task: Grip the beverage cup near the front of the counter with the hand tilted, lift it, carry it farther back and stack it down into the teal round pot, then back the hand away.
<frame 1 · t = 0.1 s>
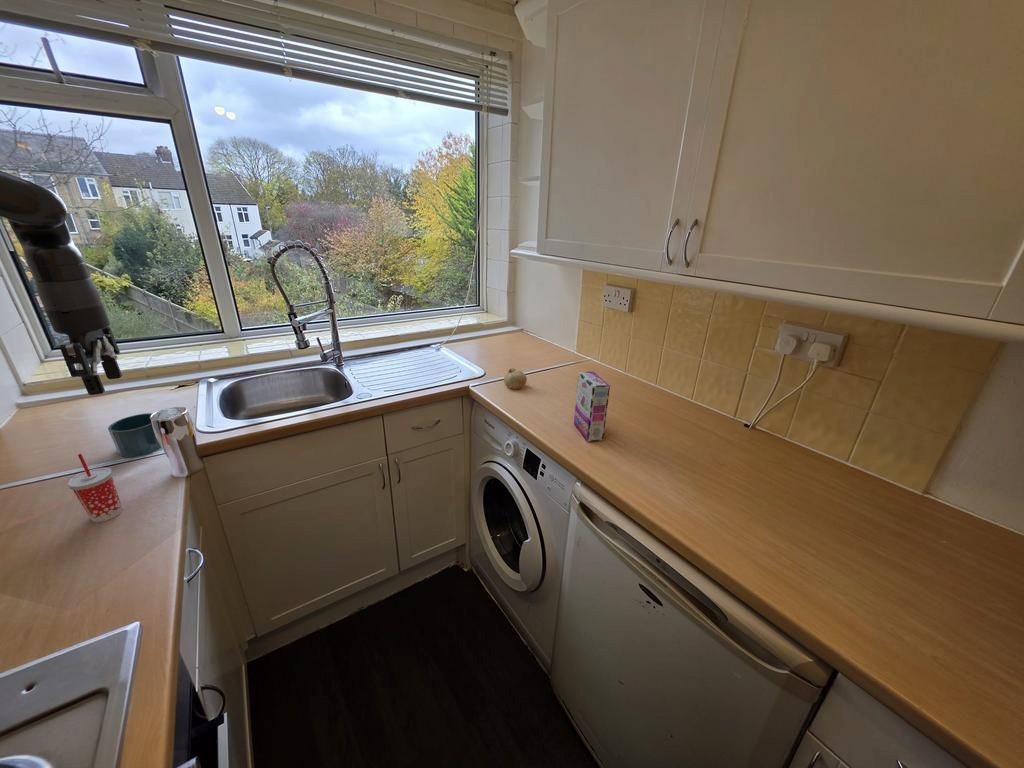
hand: (106, 385, 80), 24 cm above the worktop, tool pointing down, fingers open, 8 cm apart
teal round pot: (146, 451, 102), on the worktop
beverage cup: (107, 515, 81), on the worktop
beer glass: (188, 470, 95), on the worktop
candy bar box: (588, 432, 115), on the worktop
onion: (515, 387, 144), on the worktop
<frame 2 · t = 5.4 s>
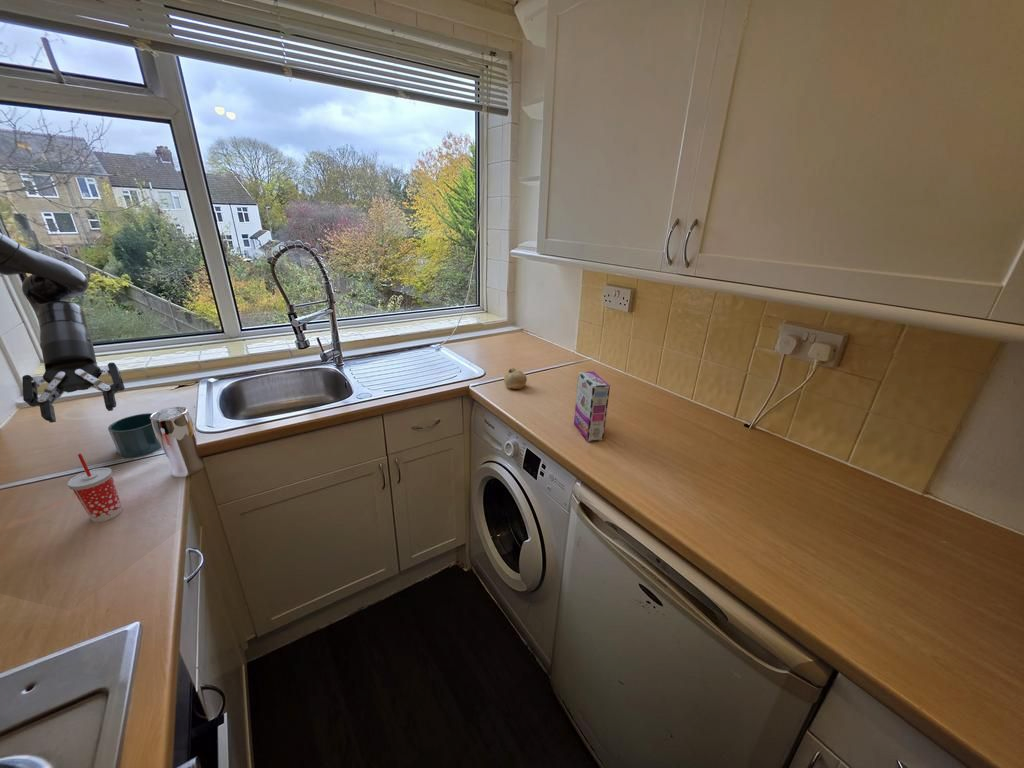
hand: (81, 415, 83), 18 cm above the worktop, tool tilted 45°, fingers open, 8 cm apart
nothing on the worktop moved.
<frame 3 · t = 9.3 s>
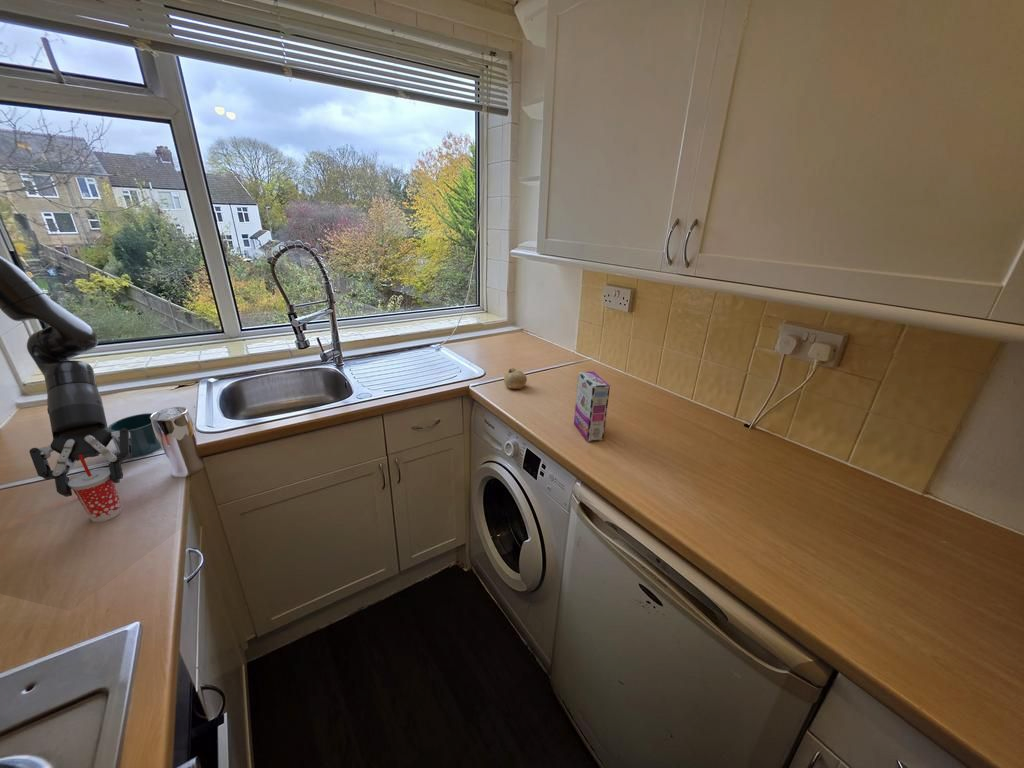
hand: (92, 488, 77), 7 cm above the worktop, tool tilted 45°, fingers closed on beverage cup, 6 cm apart
beverage cup: (107, 514, 81), on the worktop, touching gripper
everything else where it was.
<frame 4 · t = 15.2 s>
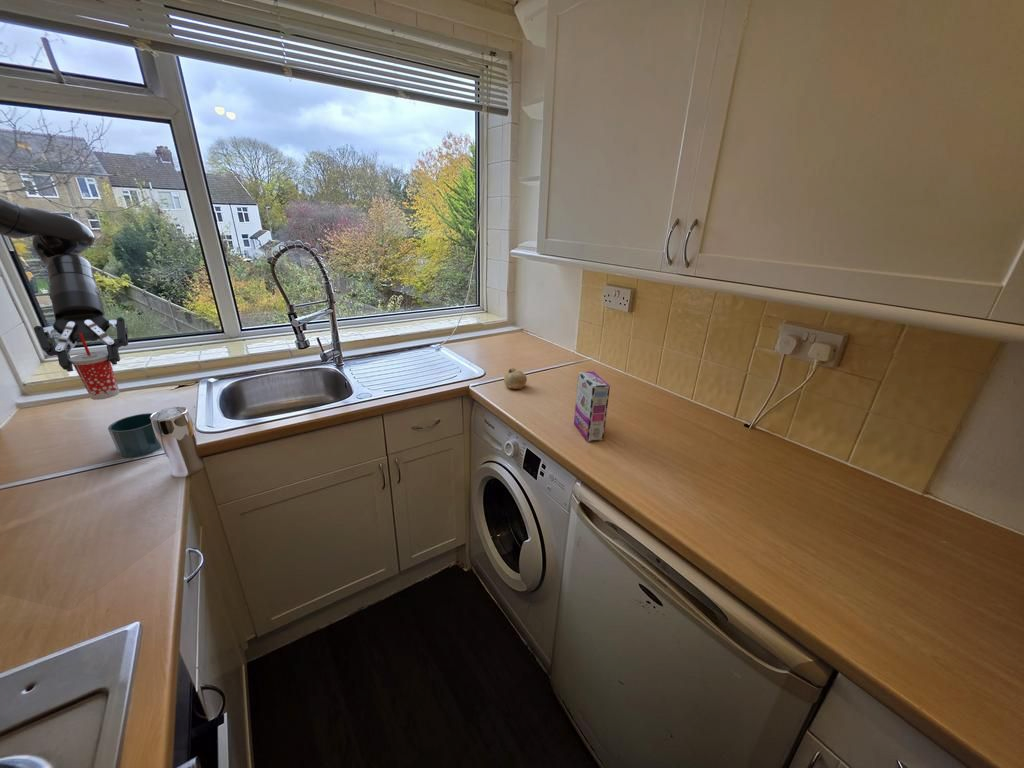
hand: (91, 366, 84), 26 cm above the worktop, tool tilted 45°, fingers closed on beverage cup, 6 cm apart
beverage cup: (106, 396, 88), point 19 cm above the worktop, touching gripper
everything else where it was.
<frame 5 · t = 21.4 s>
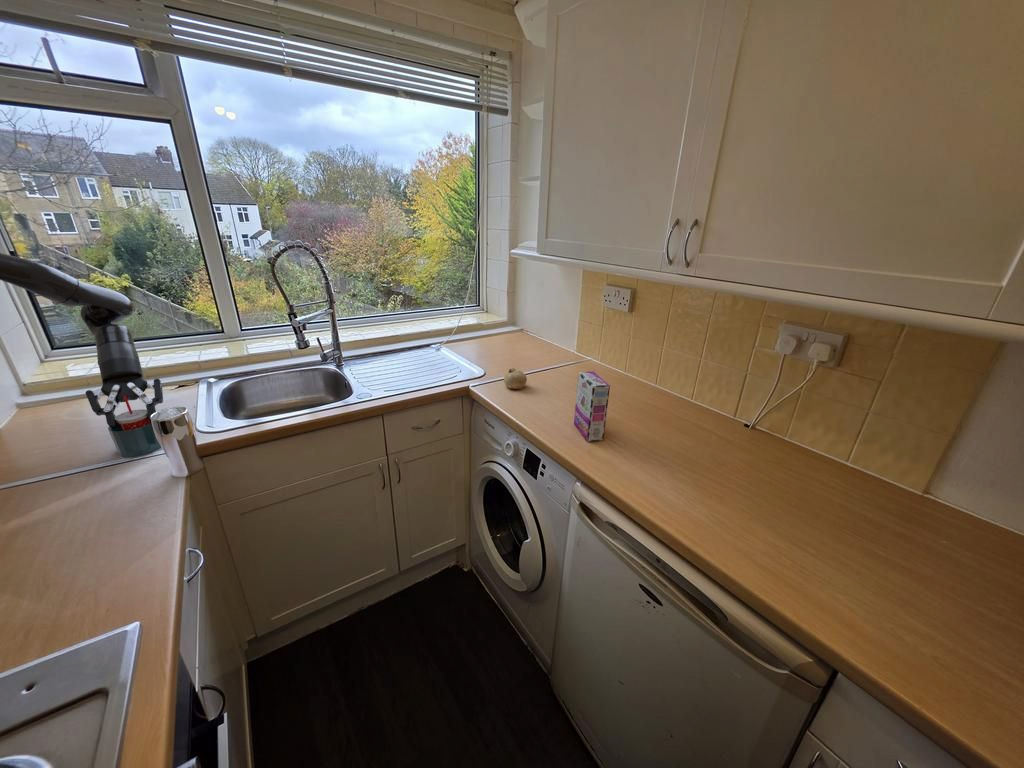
hand: (133, 423, 98), 9 cm above the worktop, tool tilted 45°, fingers closed on beverage cup, 6 cm apart
beverage cup: (144, 447, 102), point 1 cm above the worktop, touching gripper
everything else where it was.
when the fingers open (10 cm above the worktop, at t = 32.1 s): beverage cup drops 2 cm, resting on teal round pot.
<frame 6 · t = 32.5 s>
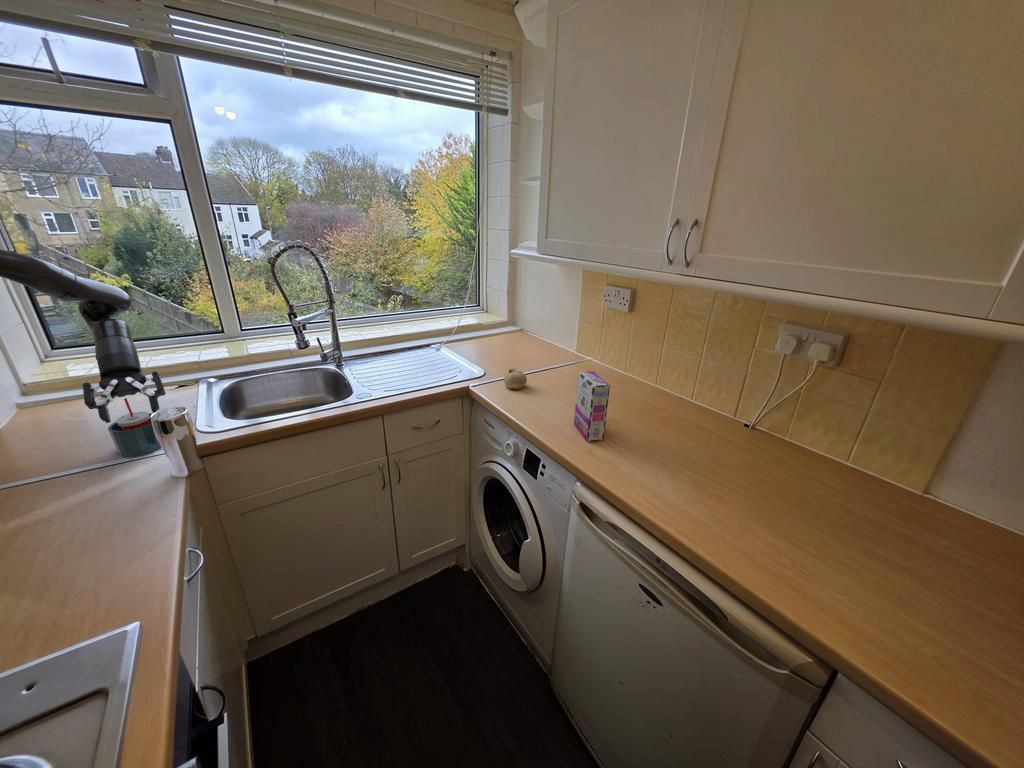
hand: (131, 416, 97), 11 cm above the worktop, tool tilted 45°, fingers open, 8 cm apart
beverage cup: (145, 449, 102), point 1 cm above the worktop, touching teal round pot
everything else where it was.
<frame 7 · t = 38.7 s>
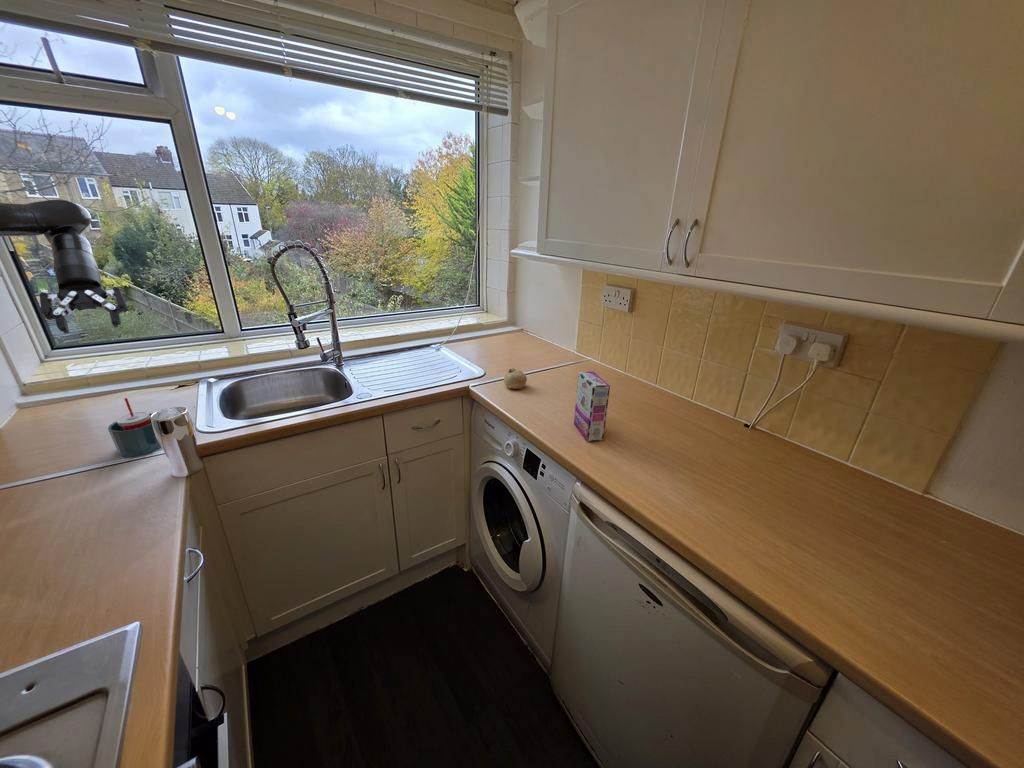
hand: (91, 328, 95), 30 cm above the worktop, tool tilted 45°, fingers open, 8 cm apart
nothing on the worktop moved.
at the end: beverage cup 0.1 cm off-centre in the teal round pot, point 0.6 cm above the teal round pot's base; beverage cup tilted 0° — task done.
